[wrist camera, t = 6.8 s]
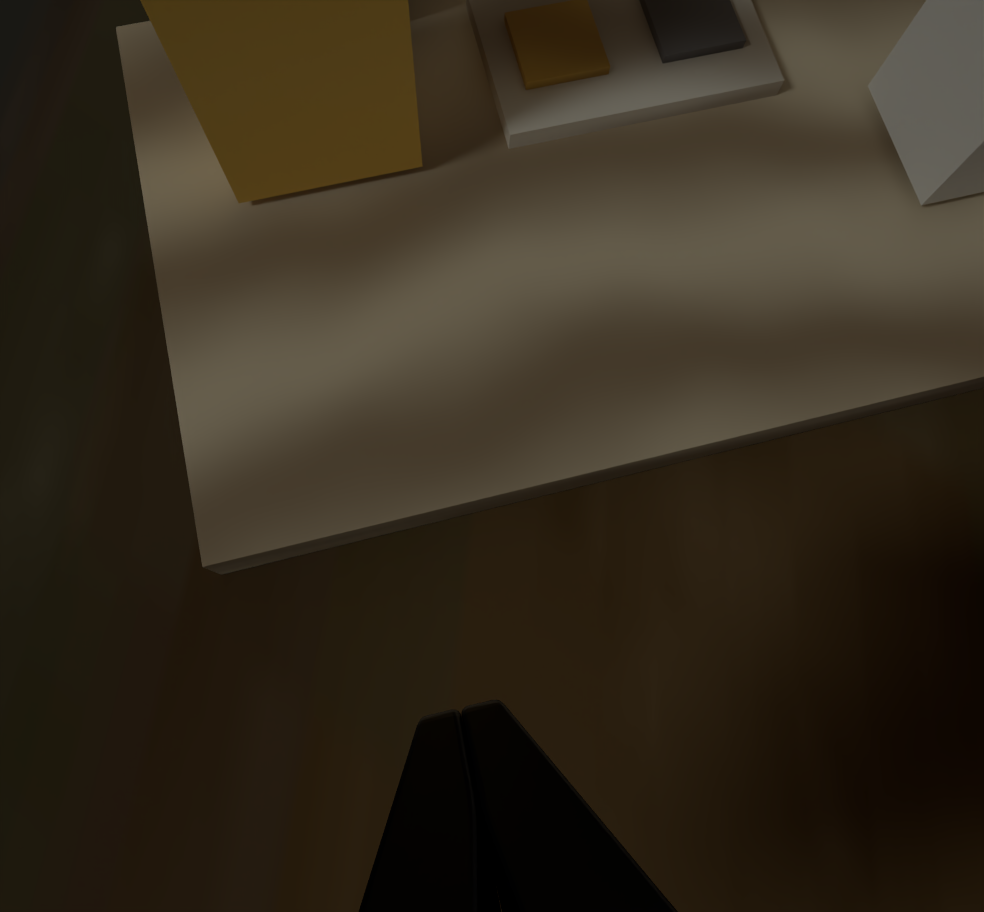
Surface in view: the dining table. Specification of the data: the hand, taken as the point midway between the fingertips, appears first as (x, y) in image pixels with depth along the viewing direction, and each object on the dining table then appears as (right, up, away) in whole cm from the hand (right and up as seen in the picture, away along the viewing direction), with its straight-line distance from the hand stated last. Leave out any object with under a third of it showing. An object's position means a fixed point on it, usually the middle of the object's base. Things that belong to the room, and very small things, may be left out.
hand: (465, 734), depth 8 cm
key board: (+5, +11, +15) cm, 19 cm away
